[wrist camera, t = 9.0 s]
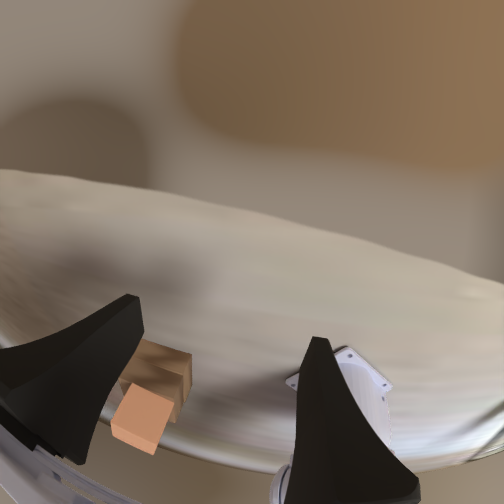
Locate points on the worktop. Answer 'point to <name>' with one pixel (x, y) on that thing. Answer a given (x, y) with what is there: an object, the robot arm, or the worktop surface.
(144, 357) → the tower base
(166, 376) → the tower top
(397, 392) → the worktop surface
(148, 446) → the terracotta block
